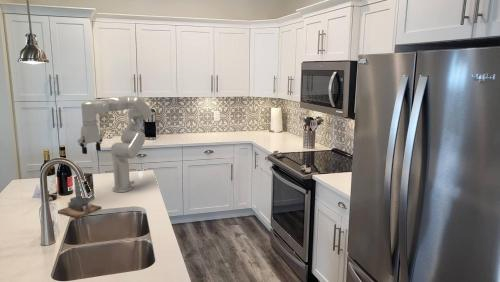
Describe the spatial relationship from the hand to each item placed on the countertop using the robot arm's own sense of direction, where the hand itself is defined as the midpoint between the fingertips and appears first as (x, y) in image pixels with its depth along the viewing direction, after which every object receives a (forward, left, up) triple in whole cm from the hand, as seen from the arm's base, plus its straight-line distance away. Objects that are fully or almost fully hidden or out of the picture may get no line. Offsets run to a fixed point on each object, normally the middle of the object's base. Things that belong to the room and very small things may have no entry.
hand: (91, 152), depth 215 cm
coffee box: (+2, -6, -31) cm, 31 cm away
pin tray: (+15, +5, -30) cm, 34 cm away
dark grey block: (+15, +5, -29) cm, 33 cm away
